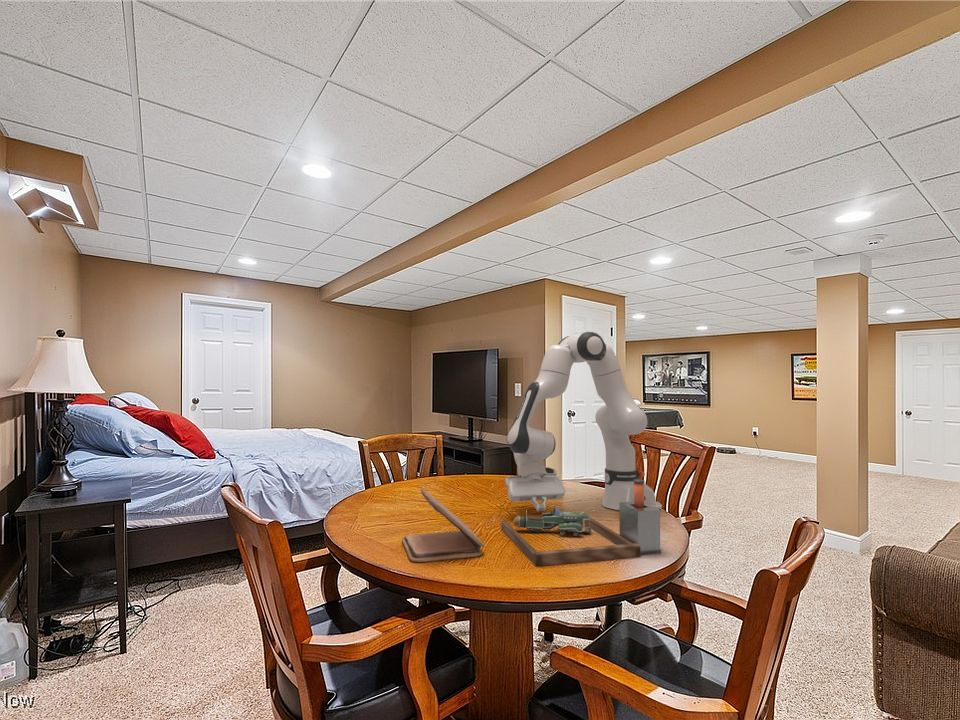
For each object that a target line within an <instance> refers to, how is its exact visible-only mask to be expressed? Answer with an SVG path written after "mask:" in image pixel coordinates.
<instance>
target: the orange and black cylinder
mask: <svg viewBox="0 0 960 720" xmlns="http://www.w3.org/2000/svg"><path fill="white" fill-rule="evenodd" d="M633 482H634V507H637V508H644V483H645V484H646V482H645V480H644V479H634V480H633Z"/></svg>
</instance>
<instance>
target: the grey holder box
mask: <svg viewBox="0 0 960 720" xmlns="http://www.w3.org/2000/svg"><path fill="white" fill-rule="evenodd" d="M618 511H619V514H618V515H619V516H618V517H619V524H618V525H619V535H620V536H622V537H624V538H625V539H627V540H629V541H630V542H632V543H637V544H638V545H640V554H641V556H643V555H650V554H651V555H652V554H661V553H662V549H661V509H657V508H655V507H652V506H650V505H648V504H646V503H644V508H637V507H634V502H619V510H618Z"/></svg>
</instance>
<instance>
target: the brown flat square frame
mask: <svg viewBox="0 0 960 720" xmlns="http://www.w3.org/2000/svg"><path fill="white" fill-rule="evenodd" d="M590 527H591V530H593V531H595V532H596V533H598V534H599V535H601V536H602V537H604V538H606V539H607V540H608V541H610V542H611V543H613V545H600V546H590V547H589V546H586V547H577V548H575V547H574V548H566V549H565V548H564V549H556V550H555V549H552V550H543V551H541V550H540V551H537V549H535V548H534V546H532V544H530V543H529V542H528V541H527V540H526V539H525V538H524V537H523V536H522V535H521V534H520V533H519V532H518V531H517V530H516V529H515V528H514V527H513V526H512V525H511V524H509V522H508V521H506V520H501V522H500V529H501V530H502V531H503V532H504V534H505V535H506V536H507V537H508V538H509V539H510V540H511V541H512V542H513V543H514V544H515V545H516V546H517V547H518V548H519V550H521V552H522V553H523V554H524V555H525V556H526V557H527V558H528V559H529V560H530V562H532V564H534V566H536V567H543V566H554V565H555V566H557V565H564V564H565V565H566V564H574V563H575V564H576V563H578V564H579V563H584V562H585V563H586V562H598V561H606V560H607V561H608V560H609V561H610V560H619V559H620V560H621V559H629V558H640V557H641V556H642V555H641V554H640V545H638V544H637V543H632V542H630V541H629V540H627V539H625V538H624V537H622V536H620V533H619V534H618V532H615V531H614V530H613V529H610V528H609V527H608V526H606V525H604V524H602V523H600V522H599V521H597V520H596V519H594V518H592V517H590Z"/></svg>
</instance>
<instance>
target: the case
mask: <svg viewBox="0 0 960 720" xmlns="http://www.w3.org/2000/svg"><path fill="white" fill-rule="evenodd" d="M420 492H421V494H422V496H423V497H424V499H425V501H427V503H428V505H429V506H432V508H433V510H434V511H436V512H437V513H439V514H441V516H443V518H445V519H446V521H448V522H450V524H451V525H453V526H454V527H456V528H457V531H446V532H445V531H444V532H442V531H441V532H431V533H429V532H428V533H418V534H417V533H414V534H407V535H405V536H404V537H403V538H402V540H401V542H402V545H403V546H404V548H405V552H406V553H407V557H408V559H409V560H410V561H411V562H412V563H426V562H439V561H440V562H441V561H445V560H446V561H447V560H459V559H467V558H476V557H480V556H482V555H483V550H481V548H484V547H485V543H484V542H483V541H482V540H481V539H480V537H478V536H477V535H476V533H474V531H473V530H472V529H471V528H470V527H469V526H468V525H467V524H466V523H465V522H463V521H462V520H461V519H460V518H459V517H458V516H456V514H455V513H453V512H452V511H450V510H449V509H448V508H447V507H446V506H445V505H444V504H442V502H441V501H439V499H437V498H436V497H434V496H433V495H432V494H431V493H429V491H427V490H426V489H424V488H421V489H420Z"/></svg>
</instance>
